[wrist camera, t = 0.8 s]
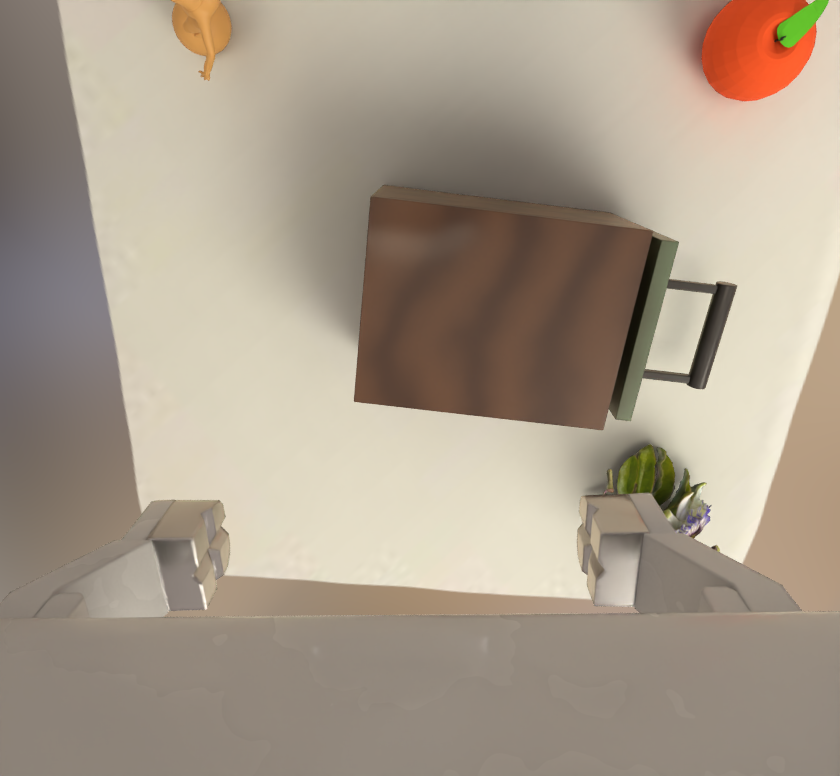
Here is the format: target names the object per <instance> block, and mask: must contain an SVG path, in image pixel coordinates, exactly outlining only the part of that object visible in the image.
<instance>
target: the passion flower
mask: <svg viewBox="0 0 840 776" xmlns="http://www.w3.org/2000/svg"><path fill="white" fill-rule="evenodd" d="M657 451H658V460H657V462H656V456H655V452H654V448H653V446H652V445H651V444H649V445H647V446H646V447H644V448H642V449H640V450H639V451H638V453H637V454H635V455H633V456H631V457H630V458H628V459H627V460H626V461H625V462H624V463H623V465H622V466H621V468H620V470H619V473H618V478H617V491H618V494H634V493H650V494H652V496H653V497H654V499H655V500H656V502H657V503H658V505H659V506H660V505H661V504H663V503H664V502H666V501H667V500H668V499H669V498H671V495H672V494H673V492H674V489H675V486H674V482H675V472H674V467H673V465H672V464H673V462H672V461H671V460H670V458H669V457H668V456H667V455H666V451H665V450H663V449H662V448H657ZM655 465H656V468H657V473H656V481H655ZM607 476H608V481H607V482H608V483H607V488H606V490H605V492H604V493H603V495H605V493H606V491H607V492H611V493H613V492H614V489H613V482H612V480H613V476H612V469H609V470H608V471H607ZM689 479H690V475H689V472H688V470H687V469H686V468H685V469H684V476H683V479H682V481H681V482H680V485H679V488H678V490H677V491H676V494H675V497H674V498H673V500H672V501H671V502H670V504H669V505H668V507H667V508H666V509H665V510H664V511H663V513H664V514H665V516H666V518H667V519H668V521H669V522H670V524H671V525H672V527H673V529H674V530H675V532H676V533H684V534H686V535H688V536H689V537H691V538H693V539H694V538H695V536H697V535H698V534H699V533H700V532H701V531H702V530H703V528H704V527H705V525H706V524H707V523H708V522H709V521H710V516H708V515H707V514H708V513H709V512H710V511H711V510H710V509H709V508H710V506H712V505H710V506H708V505H706V503H703V500H701V501H700V495H701V491H702V488H703V487H704V486H705V485H706V483H705V482H703V483H700V484H696V485H694V486H693V487H690V485H689ZM711 548H712V549H714V550H716V551H718V552H719V551H720V549H719V547H718V546H717V545H716V546H713V547H711Z"/></svg>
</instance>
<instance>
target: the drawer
mask: <svg viewBox="0 0 840 776" xmlns="http://www.w3.org/2000/svg"><path fill="white" fill-rule="evenodd" d="M678 244H679V242H678V241H675V240H673V239H671V238H668V237H666V236H663V235H661V234H659V233H656V232H654V231H653V235H652V239H651V243H650V247H649V251H648V255H647V259H646V263H645V267H644V270H643V274H642V278H641V282H640V286H639V290H638V294H637V298H636V302H635V306H634V310H633V314H632V318H631V322H630V326H629V330H628V334H627V338H626V342H625V346H624V350H623V354H622V357H621V361H620V365H619V369H618V373H617V377H616V381H615V385H614V389H613V393H612V397H611V401H610V405H609V410H610V412H611V413H612V415H613V416H614V418H615V419H616V420H625V421H631V418H632V414H633V411H634V407H635V403H636V399H637V396H638V392H639V388H640V385H641V381H642V378H645V379H654V380H662V381H671V382H680V383H686V384H687V385H688V386H690V387H693V388H696V389H705V388H706V384H707V381H708V378H709V375H710V372H711V368H712V365H713V362H714V359H715V356H716V352H717V349H718V346H719V343H720V340H721V336H722V333H723V330H724V327H725V324H726V321H727V317H728V314H729V311H730V308H731V305H732V301H733V298H734V295H735V292H736V289H737V285H735V284H732V283H728V282H716V285H714V284H707V283H699V282H690V281H682V280H674V279H669V277H670V273H671V270H672V266H673V262H674V259H675V255H676V251H677V248H678ZM666 288H669V289H677V290H686V291H694V292H702V293H711V294H713V295H712V299H711V302H710V305H709V309H708V312H707V315H706V319H705V322H704V325H703V329H702V332H701V335H700V339H699V342H698V345H697V349H696V352H695V355H694V359H693V362H692V365H691V369H690V372H689V375H688V374H683V373H674V372H666V371H657V370H649V369H645V366H646V362H647V359H648V355H649V351H650V348H651V344H652V340H653V336H654V333H655V329H656V325H657V322H658V318H659V314H660V311H661V307H662V303H663V299H664V296H665V292H666Z"/></svg>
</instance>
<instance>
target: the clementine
mask: <svg viewBox="0 0 840 776" xmlns="http://www.w3.org/2000/svg"><path fill="white" fill-rule="evenodd" d="M828 1H829V0H815V1H814V2H812V3H811V4H808V3H807V2H806V0H732V1H731V2H729V3H728V4H727V5H726V6H725V7H724V8H723V9H722V10H721V11H720V12H719V13H718V14H717V16H716V17H715V18H714V20H713V21H712V23H711V25H710V27H709V28H708V30H707V33H706V36H705V39H704V42H703V47H702V65H703V71H704V74H705V76H706V78H707V80H708V82H709V84H710V85H711V86H712V87H713V88H714V89H715V91H716V92H718V93H720V94H721V95H723V96H725V97H726V98H731V99H735V100H740V101H753V100H759V99H762V98H764V97H767V96H770V95H772V94H775V93H777V92H778V91H780V90H781V89H783V88H785V87H786V86H788V85H789V84H790V83H791V82H792V81H793V80H794V79H795V78H796V77H797V76H798V75H799V73H800V72H801V71H802V69H803V67H804V66H805V64H806V63H807V61H808V60H809V58H810V56H811V53H812V50H813V48H814V45H815V39H816V32H817V31H816V21H817V20H818V18H819V17H820V15H821V14H822V12H823V11H824V9H825V8H826V6H827V4H828Z"/></svg>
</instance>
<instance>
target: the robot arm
mask: <svg viewBox="0 0 840 776" xmlns="http://www.w3.org/2000/svg"><path fill="white" fill-rule="evenodd" d="M579 514H580V516H581V519H582V522H583V524H582V525H581V526H580V527H579V528H578V531H577V551H578V558H579V563H580V566H581V569H582V571H583V572H584V573H585V574H587V587H588V590H589V593H590V595H591V598H592V601H593V604H594V606H621V607H622V606H623V607H635V609H636V610H637V611H638V612H639V613H588V614H587V613H586V614H585V613H584V614H582V613H581V614H474V615H473V614H471V615H470V614H469V615H352V616H351V615H350V616H235V617H234V616H232V617H163V616H164V615H166V614H167V613H168V611H177V610H201V609H202V610H203V609H207V608H208V606H209V604H210V602H211V600H212V598H213V596H214V594H215V592H216V590H217V585H216V580H217V579H218V578H220V577H221V576H223V575H224V573H225V571H226V569H227V567H228V562H229V557H230V540H229V534H228V533H227V532H226V531H225V530H224V529H223V528H222V527H221V525H222V523H223V521H224V519H225V517H226V516H225V511H224V507H223V504H222V503H221V502H220V500H156V501H152V502H151V503H150V504H149V506H148V507H147V508H146V509H145V511H144V512H143V513H142V514H141V516H140V517H139V518H138V519H137V521H136V522H135V523H134V524H133V526H132V527H131V528H130V530H129V531H128V532H127V533H126V534H125V536H124V537H123V538H122V539H121V540H114V541H112V542H110V543H108V544H106V545H104V546H102V547H100V548H98V549H96V550H94V551H92V552H90V553H88V554H86V555H84V556H82V557H80V558H78V559H76V560H74V561H72V562H70V563H68V564H66V565H64V566H62V567H60V568H58V569H56V570H54V571H52V572H50V573H48V574H46V575H44V576H42V577H40V578H38V579H36V580H34V581H32V582H30V583H27V584H26V585H24V586H22V587H19V588H17V589H16V590H14V591H12V592H10V593H9V594H8V595H7V596H6V597H5V598H4V599H3V601H2V602H1V603H0V776H840V611H828V612H826V611H822V612H821V611H819V612H803V611H802V610H801V609H800V608H799V606H798V605H797V604H796V602H795V601H794V600H793V599H792V597H791V596H790V595H789V594H788V592H787V591H786V590H785V588H784V587H783V586H782V585H781V584H779V583H777V582H775V581H773V580H771V579H770V578H768V577H765V576H764V575H762V574H760V573H758V572H756V571H754V570H752V569H750V568H749V567H747V566H745V565H743V564H741V563H739V562H737V561H735V560H733V559H731V558H729V557H728V556H726V555H724V554H722V553H720V552H718V551H716V550H714V549H712V548H710V547H708V546H707V545H705V544H703V543H701V542H699V541H697V540H695V539H693V538H691V537H689V536H688V535H686V534H684V533H676V532H675V530H674V529H673V527H672V525H671V524H670V522H669V521H668V519H667V518H666V516H665V514H664V513H663V511H662V510H661V508H660V507H659V505H658V503H657V502H656V500H655V499H654V497H653V496H652V494H650V493H634V494H611V495H586V496H581V499H580V505H579Z"/></svg>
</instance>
